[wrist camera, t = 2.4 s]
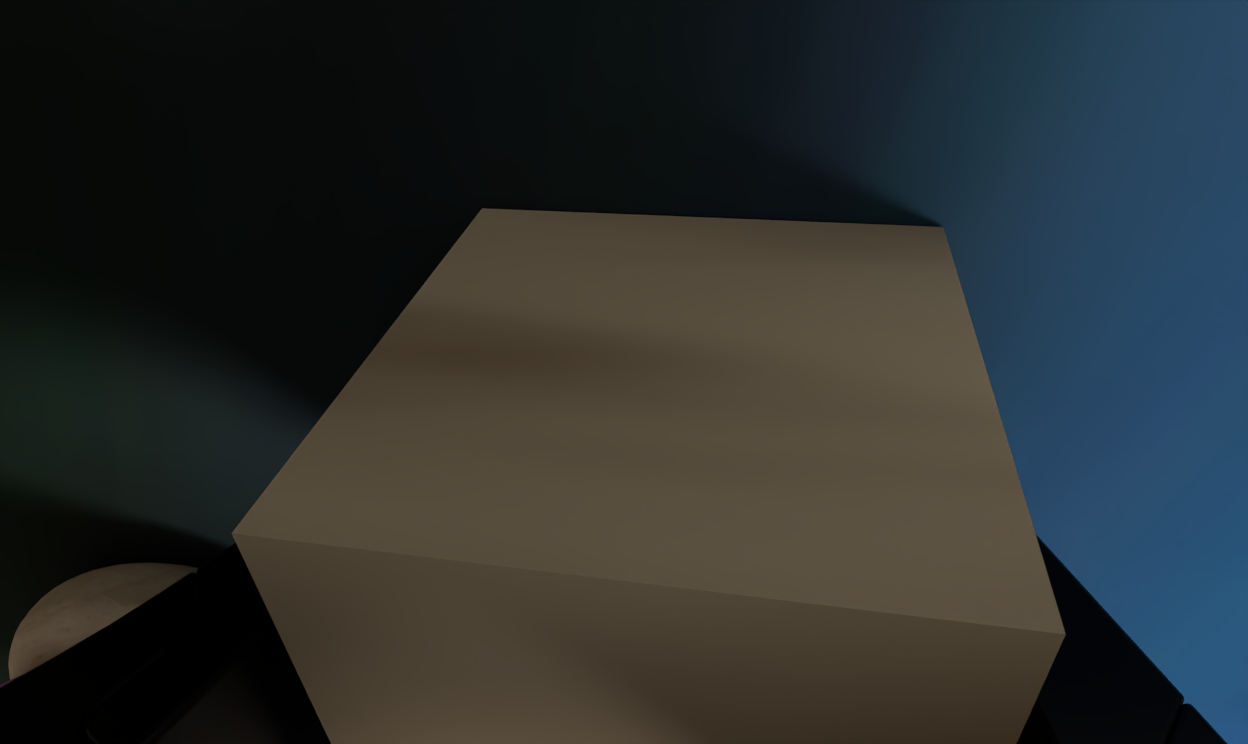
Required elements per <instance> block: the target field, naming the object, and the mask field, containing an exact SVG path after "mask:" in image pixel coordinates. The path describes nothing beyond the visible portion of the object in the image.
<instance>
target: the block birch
mask: <svg viewBox="0 0 1248 744" xmlns="http://www.w3.org/2000/svg"><path fill="white" fill-rule="evenodd" d="M232 536H233V538H234V540H235V542H236V544H237V546H238V548H239V550H240V552H241V555H242V557H243V559H244V561H245V563H246V565H247V567H248V569H249V571H250V574H251V576H252V578H253V580H254V582H255V584H256V586H257V588H258V590H259V593H260V595H261V597H262V599H263V601H264V603H265V605H266V607H267V609H268V612H269V614H270V616H271V618H272V620H273V622H274V624H275V626H276V628H277V631H278V633H279V635H280V637H281V639H282V641H283V643H284V645H285V647H286V650H287V652H288V654H289V656H290V658H291V660H292V662H293V664H294V667H295V669H296V671H297V673H298V675H299V677H300V679H301V681H302V683H303V686H304V688H305V690H306V692H307V694H308V696H309V698H310V700H311V702H312V705H313V707H314V709H315V711H316V713H317V715H318V717H319V719H320V721H321V724H322V726H323V728H324V730H325V732H326V734H327V736H328V738H329V740H330V743H331V744H1017V741H1018V739H1019V737H1020V735H1021V732H1022V730H1023V728H1024V726H1025V724H1026V721H1027V719H1028V717H1029V715H1030V713H1031V710H1032V708H1033V706H1034V704H1035V701H1036V699H1037V697H1038V695H1039V693H1040V690H1041V688H1042V686H1043V684H1044V681H1045V679H1046V677H1047V675H1048V673H1049V670H1050V668H1051V666H1052V664H1053V662H1054V659H1055V657H1056V655H1057V653H1058V650H1059V648H1060V646H1061V644H1062V642H1063V639H1064V637H1065V635H1066V634H1065V630H1064V627H1063V624H1062V620H1061V617H1060V614H1059V610H1058V607H1057V604H1056V600H1055V597H1054V594H1053V590H1052V587H1051V584H1050V580H1049V577H1048V574H1047V570H1046V567H1045V564H1044V560H1043V557H1042V554H1041V550H1040V547H1039V544H1038V540H1037V537H1036V534H1035V530H1034V527H1033V524H1032V520H1031V517H1030V514H1029V511H1028V507H1027V504H1026V501H1025V497H1024V494H1023V491H1022V487H1021V484H1020V481H1019V477H1018V474H1017V471H1016V467H1015V464H1014V461H1013V457H1012V454H1011V451H1010V447H1009V444H1008V441H1007V437H1006V434H1005V431H1004V427H1003V424H1002V421H1001V417H1000V414H999V411H998V407H997V404H996V401H995V397H994V394H993V391H992V387H991V384H990V381H989V377H988V374H987V371H986V367H985V364H984V361H983V357H982V354H981V351H980V347H979V344H978V341H977V337H976V334H975V331H974V327H973V324H972V321H971V318H970V314H969V311H968V308H967V304H966V301H965V298H964V294H963V291H962V288H961V284H960V281H959V278H958V274H957V271H956V268H955V264H954V261H953V258H952V254H951V251H950V248H949V244H948V241H947V238H946V234H945V231H944V228H943V227H930V226H906V225H881V224H856V223H831V222H807V221H782V220H757V219H732V218H708V217H683V216H658V215H633V214H609V213H584V212H559V211H535V210H510V209H485V208H482V209H481V210H480V212H479V213H478V214H477V216H476V217H475V218H474V220H473V221H472V222H471V223H470V225H469V226H468V227H467V229H466V230H465V231H464V232H463V234H462V235H461V236H460V238H459V239H458V240H457V242H456V243H455V244H454V245H453V247H452V248H451V249H450V251H449V252H448V253H447V255H446V256H445V257H444V258H443V260H442V261H441V262H440V264H439V265H438V266H437V268H436V269H435V270H434V271H433V273H432V274H431V275H430V277H429V278H428V279H427V280H426V282H425V283H424V284H423V286H422V287H421V288H420V290H419V291H418V292H417V293H416V295H415V296H414V297H413V299H412V300H411V301H410V303H409V304H408V305H407V306H406V308H405V309H404V310H403V312H402V313H401V314H400V316H399V317H398V318H397V319H396V321H395V322H394V323H393V325H392V326H391V327H390V328H389V330H388V331H387V332H386V334H385V335H384V336H383V338H382V339H381V340H380V341H379V343H378V344H377V345H376V347H375V348H374V349H373V351H372V352H371V353H370V354H369V356H368V357H367V358H366V360H365V361H364V362H363V364H362V365H361V366H360V367H359V369H358V370H357V371H356V373H355V374H354V375H353V376H352V378H351V379H350V380H349V382H348V383H347V384H346V386H345V387H344V388H343V389H342V391H341V392H340V393H339V395H338V396H337V397H336V399H335V400H334V401H333V402H332V404H331V405H330V406H329V408H328V409H327V410H326V412H325V413H324V414H323V415H322V417H321V418H320V419H319V421H318V422H317V423H316V424H315V426H314V427H313V428H312V430H311V431H310V432H309V434H308V435H307V436H306V437H305V439H304V440H303V441H302V443H301V444H300V445H299V447H298V448H297V449H296V450H295V452H294V453H293V454H292V456H291V457H290V458H289V460H288V461H287V462H286V463H285V465H284V466H283V467H282V469H281V470H280V471H279V472H278V474H277V475H276V476H275V478H274V479H273V480H272V482H271V483H270V484H269V485H268V487H267V488H266V489H265V491H264V492H263V493H262V495H261V496H260V497H259V498H258V500H257V501H256V502H255V504H254V505H253V506H252V508H251V509H250V510H249V511H248V513H247V514H246V515H245V517H244V518H243V519H242V520H241V522H240V523H239V524H238V526H237V527H236V528H235V530H234V531H233V532H232Z"/></svg>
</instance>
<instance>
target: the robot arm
mask: <svg viewBox="0 0 1248 744" xmlns="http://www.w3.org/2000/svg"><path fill="white" fill-rule="evenodd" d="M1036 537H1037V540H1038V544H1039V547H1040V550H1041V554H1042V557H1043V560H1044V564H1045V567H1046V570H1047V574H1048V577H1049V580H1050V584H1051V587H1052V590H1053V594H1054V597H1055V600H1056V604H1057V607H1058V610H1059V614H1060V617H1061V620H1062V624H1063V627H1064V630H1065V634H1066V635H1065V637H1064V639H1063V642H1062V644H1061V646H1060V648H1059V650H1058V653H1057V655H1056V657H1055V659H1054V662H1053V664H1052V666H1051V668H1050V670H1049V673H1048V675H1047V677H1046V679H1045V681H1044V684H1043V686H1042V688H1041V690H1040V693H1039V695H1038V697H1037V699H1036V701H1035V704H1034V706H1033V708H1032V710H1031V713H1030V715H1029V717H1028V719H1027V721H1026V724H1025V726H1024V728H1023V730H1022V732H1021V735H1020V737H1019V739H1018V741H1017V744H1227V743H1226V742H1225V741H1224V740H1223V739H1222V737H1221V736H1220V735H1219V734H1218V733H1217V732H1216V731H1215V730H1214V729H1213V728H1212V726H1211V725H1210V724H1209V723H1208V722H1207V721H1206V720H1205V719H1204V718H1203V717H1202V715H1201V714H1200V713H1199V712H1198V711H1197V710H1196V709H1195V708H1194V707H1193V706H1192V705H1191V704H1187V703H1186V704H1183V702H1184V697H1183V695H1182V694H1181V693H1180V692H1179V691H1178V690H1177V689H1176V687H1175V686H1174V685H1173V684H1172V683H1171V682H1170V681H1169V680H1168V679H1167V678H1166V676H1165V675H1164V674H1163V673H1162V672H1161V671H1160V670H1159V669H1158V668H1157V667H1156V665H1155V664H1154V663H1153V662H1152V661H1151V660H1150V659H1149V658H1148V657H1147V656H1146V655H1145V653H1144V652H1143V651H1142V650H1141V649H1140V648H1139V647H1138V646H1137V645H1136V644H1135V642H1134V641H1133V640H1132V639H1131V638H1130V637H1129V636H1128V635H1127V634H1126V633H1125V631H1124V630H1123V629H1122V628H1121V627H1120V626H1119V625H1118V624H1117V623H1116V622H1115V621H1114V619H1113V618H1112V617H1111V616H1110V615H1109V614H1108V613H1107V612H1106V611H1105V610H1104V608H1103V607H1102V606H1101V605H1100V604H1099V603H1098V602H1097V601H1096V600H1095V599H1094V597H1093V596H1092V595H1091V594H1090V593H1089V592H1088V591H1087V590H1086V589H1085V588H1084V586H1083V585H1082V584H1081V583H1080V582H1079V581H1078V580H1077V579H1076V578H1075V577H1074V576H1073V574H1072V573H1071V572H1070V571H1069V570H1068V569H1067V568H1066V567H1065V566H1064V565H1063V563H1062V562H1061V561H1060V560H1059V559H1058V558H1057V557H1056V556H1055V555H1054V554H1053V552H1052V551H1051V550H1050V549H1049V548H1048V547H1047V546H1046V545H1045V544H1044V543H1043V541H1042V540H1041V539H1040V538H1039V537H1038V536H1037V535H1036ZM0 744H331V743H330V740H329V738H328V736H327V734H326V732H325V730H324V728H323V726H322V724H321V721H320V719H319V717H318V715H317V713H316V711H315V709H314V707H313V705H312V702H311V700H310V698H309V696H308V694H307V692H306V690H305V688H304V686H303V683H302V681H301V679H300V677H299V675H298V673H297V671H296V669H295V667H294V664H293V662H292V660H291V658H290V656H289V654H288V652H287V650H286V647H285V645H284V643H283V641H282V639H281V637H280V635H279V633H278V631H277V628H276V626H275V624H274V622H273V620H272V618H271V616H270V614H269V612H268V609H267V607H266V605H265V603H264V601H263V599H262V597H261V595H260V593H259V590H258V588H257V586H256V584H255V582H254V580H253V578H252V576H251V574H250V571H249V569H248V567H247V565H246V563H245V561H244V559H243V557H242V555H241V552H240V550H239V548H238V546H237V544H236V543H235V544H233V545H232V546H230V547H229V548H227V549H226V550H224V551H222V552H221V553H219V554H218V555H216V556H215V557H213V558H212V559H210V560H209V561H207V562H206V563H204V564H203V565H201V566H200V567H199V568H198V569H197V573H194V572H191V573H189V574H187V575H186V576H184V577H183V578H181V579H180V580H178V581H177V582H175V583H174V584H172V585H171V586H169V587H168V588H166V589H165V590H163V591H162V592H160V593H158V594H157V595H155V596H154V597H152V598H151V599H149V600H147V601H146V602H144V603H143V604H141V605H140V606H138V607H136V608H135V609H133V610H132V611H130V612H128V613H127V614H125V615H124V616H122V617H121V618H119V619H117V620H116V621H114V622H113V623H111V624H109V625H108V626H106V627H104V628H103V629H101V630H99V631H98V632H96V633H94V634H92V635H91V636H89V637H87V638H86V639H84V640H82V641H81V642H79V643H77V644H75V645H74V646H72V647H70V648H69V649H67V650H65V651H64V652H62V653H60V654H59V655H57V656H55V657H53V658H52V659H50V660H48V661H46V662H45V663H43V664H41V665H39V666H38V667H36V668H34V669H32V670H31V671H29V672H27V673H25V674H23V675H22V676H20V677H18V678H16V679H15V680H13V681H11V682H9V683H8V684H6V685H4V686H2V687H1V688H0Z"/></svg>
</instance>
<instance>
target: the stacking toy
mask: <svg viewBox="0 0 1248 744" xmlns="http://www.w3.org/2000/svg"><path fill="white" fill-rule="evenodd" d="M197 569H198V568H196V567H191V566H185V565H175V564H164V563H130V564H119V565H114V566H109V567H104V568H100V569H96V570H93V571H90V572H87V573H83V574H81V575H79V576H76V577H74V578H72V579H70V580H67V581H66V582H64V583H62V584H60V585H59V586H57V587H55V588H54V589H52V590H51V591H50V592H49V593H47V594H46V595H45V596H43V597H42V598H41V599H40V600H39V601H38V602H37V603H36V604H35V605H34V606H33V607H32V609H31V610H30V611H29V612H28V614H27V615H26V616H25V618H24V619H23V620H22V622H21V623H20V625H19V627H18V629H17V631H16V633H15V635H14V638H13V641H12V645H11V649H10V653H9V664H8V666H9V674H10V680H9V681H7V682H5V683H2V684H0V688H1V687H2V686H4V685H6V684H8V683H9V682H11V681H13V680H15V679H16V678H18V677H20V676H22V675H23V674H25V673H27V672H29V671H31V670H32V669H34V668H36V667H38V666H39V665H41V664H43V663H45V662H46V661H48V660H50V659H52V658H53V657H55V656H57V655H59V654H60V653H62V652H64V651H65V650H67V649H69V648H70V647H72V646H74V645H75V644H77V643H79V642H81V641H82V640H84V639H86V638H87V637H89V636H91V635H92V634H94V633H96V632H98V631H99V630H101V629H103V628H104V627H106V626H108V625H109V624H111V623H113V622H114V621H116V620H117V619H119V618H121V617H122V616H124V615H125V614H127V613H128V612H130V611H132V610H133V609H135V608H136V607H138V606H140V605H141V604H143V603H144V602H146V601H147V600H149V599H151V598H152V597H154V596H155V595H157V594H158V593H160V592H162V591H163V590H165V589H166V588H168V587H169V586H171V585H172V584H174V583H175V582H177V581H178V580H180V579H181V578H183V577H184V576H186V575H187V574H189V573H191V572H194V573H197Z"/></svg>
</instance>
